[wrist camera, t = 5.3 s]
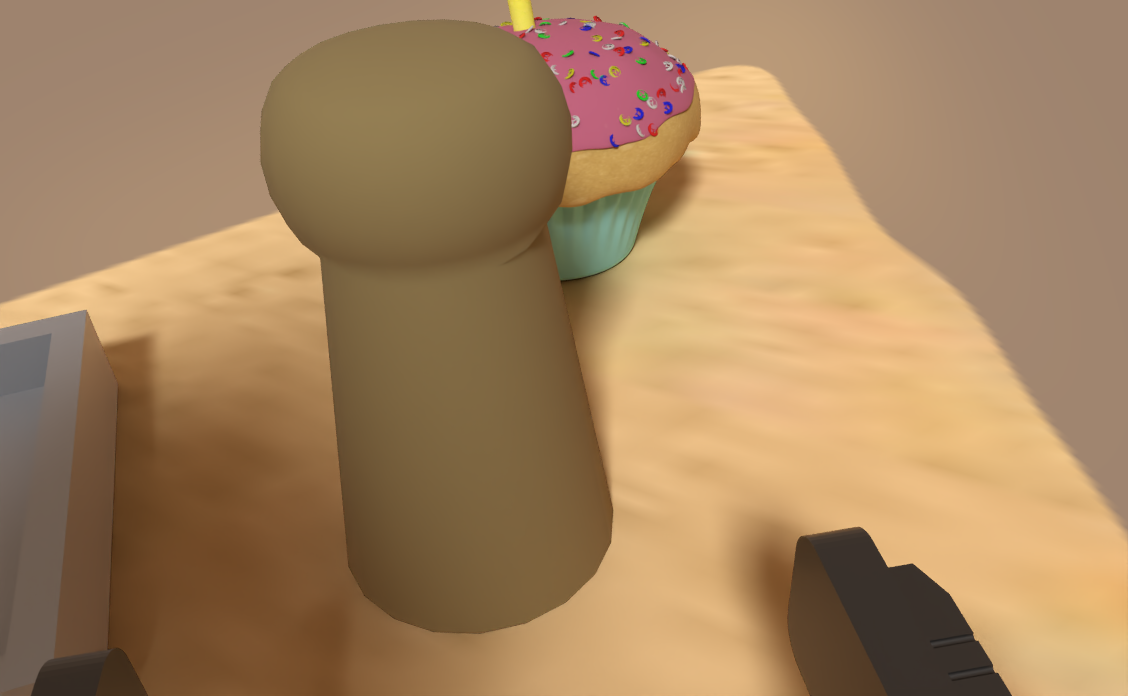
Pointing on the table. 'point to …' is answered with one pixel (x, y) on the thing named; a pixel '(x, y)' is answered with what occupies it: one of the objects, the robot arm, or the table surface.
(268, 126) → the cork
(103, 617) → the gray tray
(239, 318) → the table surface
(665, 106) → the cupcake
